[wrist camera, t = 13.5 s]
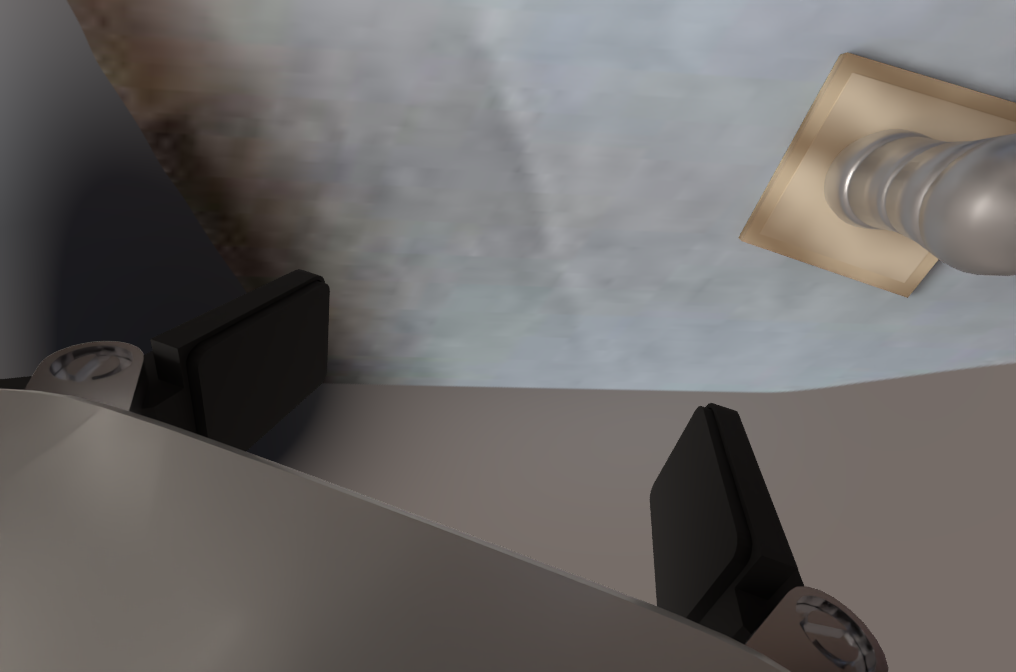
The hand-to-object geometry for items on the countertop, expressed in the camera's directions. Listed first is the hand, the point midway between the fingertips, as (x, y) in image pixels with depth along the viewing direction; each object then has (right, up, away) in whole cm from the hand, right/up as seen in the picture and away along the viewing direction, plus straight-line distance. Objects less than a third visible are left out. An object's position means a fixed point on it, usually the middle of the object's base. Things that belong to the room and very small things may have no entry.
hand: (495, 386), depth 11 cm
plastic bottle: (+27, +13, +23) cm, 38 cm away
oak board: (+29, +13, +24) cm, 40 cm away
